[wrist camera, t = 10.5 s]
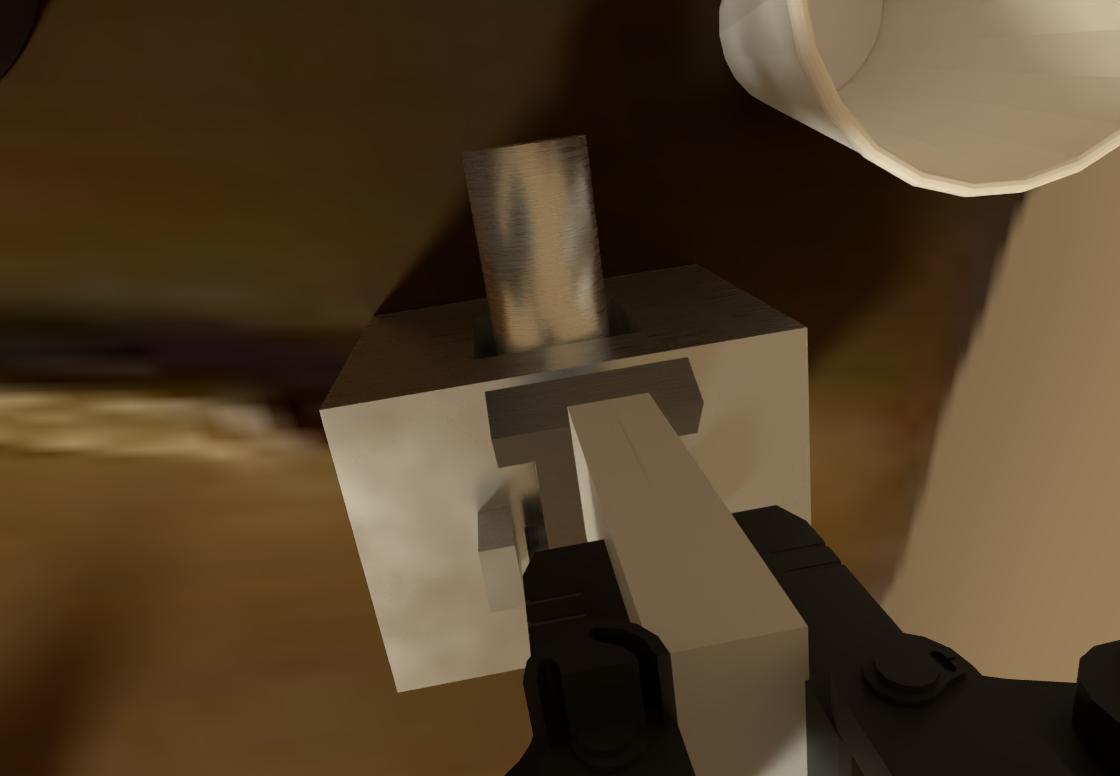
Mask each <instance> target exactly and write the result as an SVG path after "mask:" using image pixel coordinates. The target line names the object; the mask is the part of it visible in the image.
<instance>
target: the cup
mask: <svg viewBox="0 0 1120 776" xmlns="http://www.w3.org/2000/svg"><path fill="white" fill-rule="evenodd" d="M719 36H720V40H721V44H722V49H723V53H724V58H725V60H726V62H727V64H728V66H729V68H730V70H731V71H732V73H733V75H734V77H735V79H736V80H737V81H738V82H739V83H740V84H741V85H742V86H743V88H744V89H745V90H746V91H747V92H748V93H749V94H750V95H752V96H753V97H755V98H757V99H759V100H760V101H762V102H764V103H765V104H767V105H769V106H771V107H773V108H775V109H777V110H779V111H780V112H782V113H784V114H786V115H788V116H790V117H792V118H794V119H796V120H798V121H799V122H801V123H803V124H805V125H807V126H809V127H811V128H813V129H815V130H817V131H818V132H820V133H822V134H824V135H826V136H828V137H830V138H832V139H834V140H836V141H837V142H839V143H841V144H843V145H845V146H847V147H849V148H851V149H853V150H855V151H856V152H858V153H860V154H861V155H862V156H863V157H864V158H866V159H867V160H869V161H871V162H873V163H874V164H876V165H878V166H879V167H881V168H883V169H885V170H886V171H888V172H890V173H891V174H893V175H895V176H897V177H898V178H900V179H902V180H903V181H905V182H907V183H909V184H910V185H912V186H916V187H921V188H925V189H930V190H935V191H939V192H944V193H949V194H953V195H958V196H962V197H972V196H984V195H996V194H1008V193H1020V192H1025V191H1027V190H1030V189H1033V188H1036V187H1038V186H1041V185H1044V184H1046V183H1049V182H1052V181H1055V180H1057V179H1060V178H1063V177H1066V176H1069V175H1071V174H1074V173H1077V172H1080V171H1081V170H1083V169H1084V168H1086V167H1087V166H1089V165H1090V164H1092V163H1094V162H1095V161H1097V160H1098V159H1100V158H1101V157H1103V156H1104V155H1106V154H1107V153H1109V152H1110V151H1112V150H1113V149H1115V148H1117V147H1118V146H1120V0H722V1H721V5H720V9H719Z"/></svg>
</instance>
